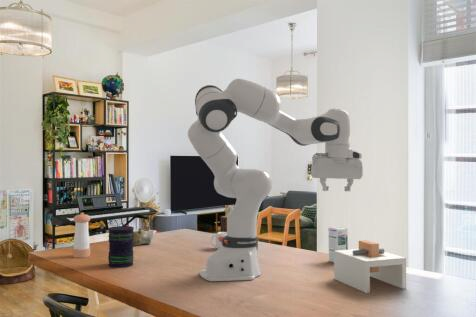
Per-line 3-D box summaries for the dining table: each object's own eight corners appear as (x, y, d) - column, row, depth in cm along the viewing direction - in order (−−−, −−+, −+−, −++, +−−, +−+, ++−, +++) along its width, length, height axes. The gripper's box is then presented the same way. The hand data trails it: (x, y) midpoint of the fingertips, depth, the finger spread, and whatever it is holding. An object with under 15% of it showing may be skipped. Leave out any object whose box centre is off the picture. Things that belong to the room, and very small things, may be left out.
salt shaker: (78, 258, 180) (79, 214, 181) (69, 256, 185) (69, 212, 185) (93, 255, 186) (94, 212, 186) (84, 253, 190) (84, 211, 191)
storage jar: (103, 265, 169) (103, 227, 169) (124, 261, 176) (125, 225, 176) (116, 269, 162) (117, 230, 162) (138, 265, 169) (138, 227, 169)
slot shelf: (365, 292, 133) (365, 256, 133) (334, 278, 150) (334, 246, 150) (406, 288, 139) (406, 252, 139) (371, 275, 155) (371, 243, 156)
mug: (236, 248, 205) (236, 232, 205) (227, 251, 198) (227, 234, 198) (215, 246, 211) (215, 230, 211) (206, 248, 204) (206, 232, 204)
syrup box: (337, 263, 173) (337, 228, 174) (328, 261, 179) (328, 226, 179) (348, 262, 176) (348, 227, 176) (338, 259, 181) (338, 226, 182)
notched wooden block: (371, 272, 141) (371, 244, 141) (358, 267, 147) (358, 240, 147) (378, 271, 142) (378, 243, 142) (365, 267, 148) (365, 240, 148)
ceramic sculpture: (156, 228, 213) (126, 231, 205) (157, 245, 212) (127, 249, 205) (149, 225, 222) (121, 229, 214) (150, 242, 222) (122, 246, 214)
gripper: (317, 151, 148) (316, 191, 147) (365, 154, 155) (364, 192, 154) (308, 152, 154) (307, 190, 153) (355, 155, 161) (354, 191, 160)
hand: (336, 191), depth 154 cm, fingers open, 8 cm apart
